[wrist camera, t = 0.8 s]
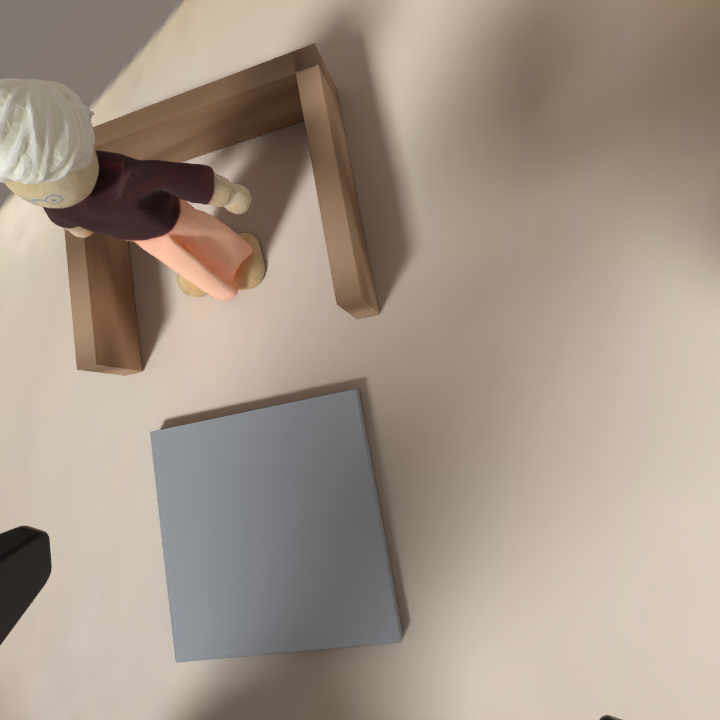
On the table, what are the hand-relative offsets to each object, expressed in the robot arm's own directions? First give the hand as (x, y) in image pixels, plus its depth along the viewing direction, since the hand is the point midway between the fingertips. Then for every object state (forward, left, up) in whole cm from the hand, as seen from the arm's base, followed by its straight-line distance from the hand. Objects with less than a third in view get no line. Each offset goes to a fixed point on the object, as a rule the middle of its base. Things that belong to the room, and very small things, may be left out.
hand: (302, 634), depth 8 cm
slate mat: (-6, +3, -13) cm, 15 cm away
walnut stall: (-1, +15, -13) cm, 20 cm away
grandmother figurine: (-1, +14, -14) cm, 20 cm away
